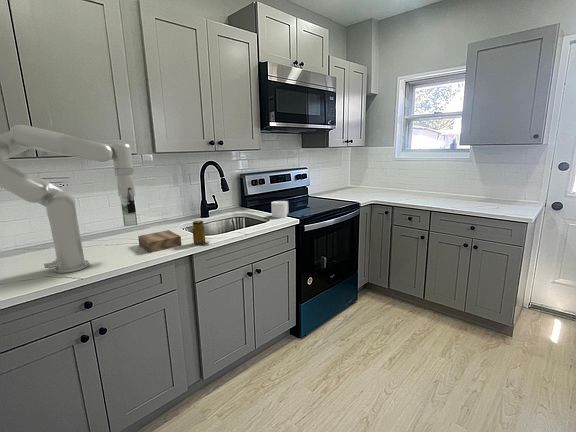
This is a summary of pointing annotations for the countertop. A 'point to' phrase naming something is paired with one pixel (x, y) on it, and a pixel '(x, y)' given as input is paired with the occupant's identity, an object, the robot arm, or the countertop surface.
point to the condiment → (199, 234)
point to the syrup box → (128, 217)
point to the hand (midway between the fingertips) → (129, 210)
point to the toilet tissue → (279, 209)
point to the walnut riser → (159, 241)
